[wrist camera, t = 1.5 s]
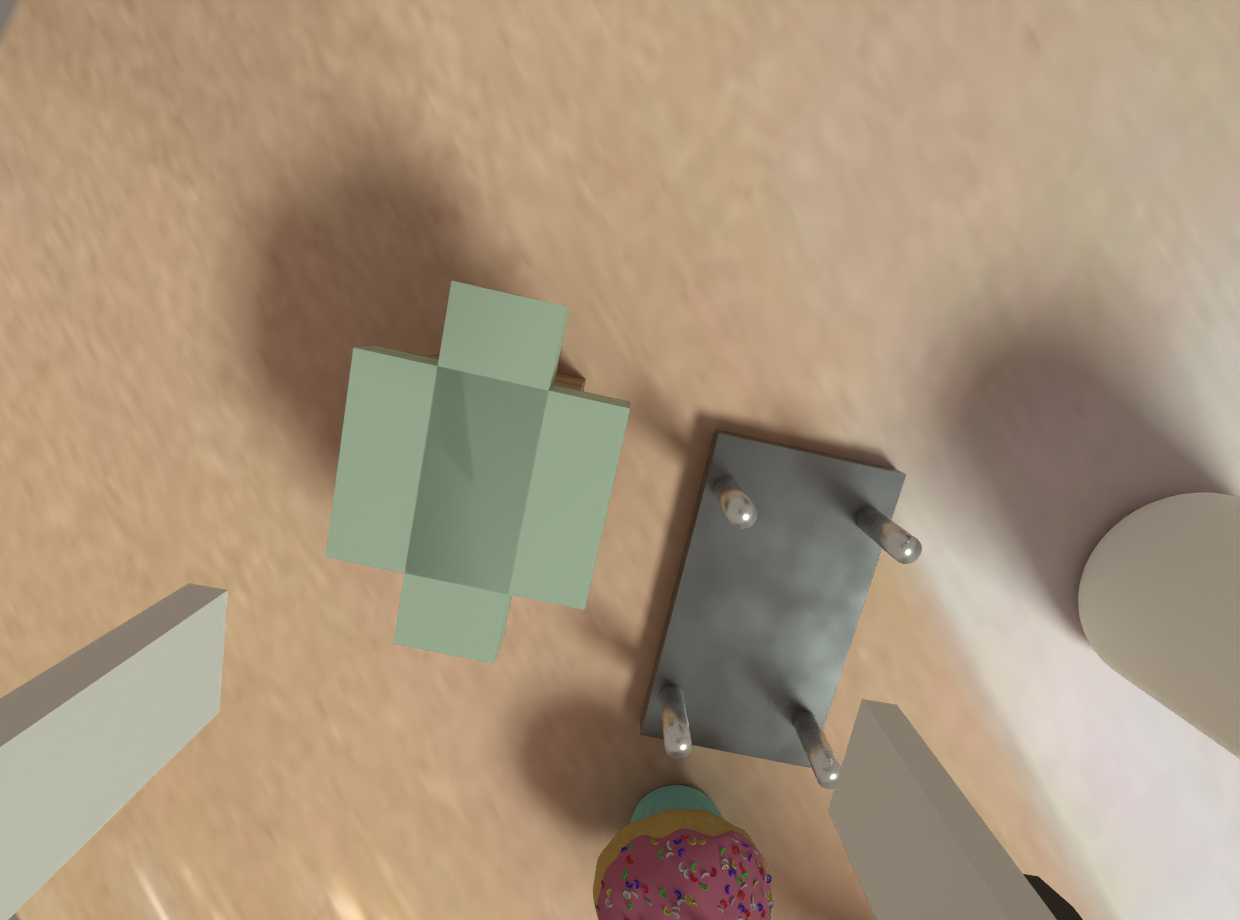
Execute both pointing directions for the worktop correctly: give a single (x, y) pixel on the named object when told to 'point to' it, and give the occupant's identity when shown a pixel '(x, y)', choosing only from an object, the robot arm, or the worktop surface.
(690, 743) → the chassis
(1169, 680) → the cup
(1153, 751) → the worktop surface
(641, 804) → the cupcake
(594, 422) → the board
